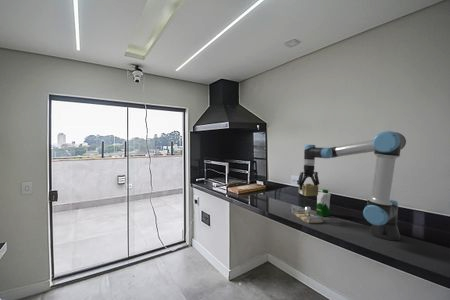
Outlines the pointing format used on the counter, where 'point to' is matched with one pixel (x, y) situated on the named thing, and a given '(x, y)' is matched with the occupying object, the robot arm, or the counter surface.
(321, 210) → the milk carton
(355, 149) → the robot arm
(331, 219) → the counter surface
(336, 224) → the counter surface
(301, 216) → the bench plate
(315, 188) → the gold square frame
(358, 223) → the counter surface
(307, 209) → the grey metal piece
